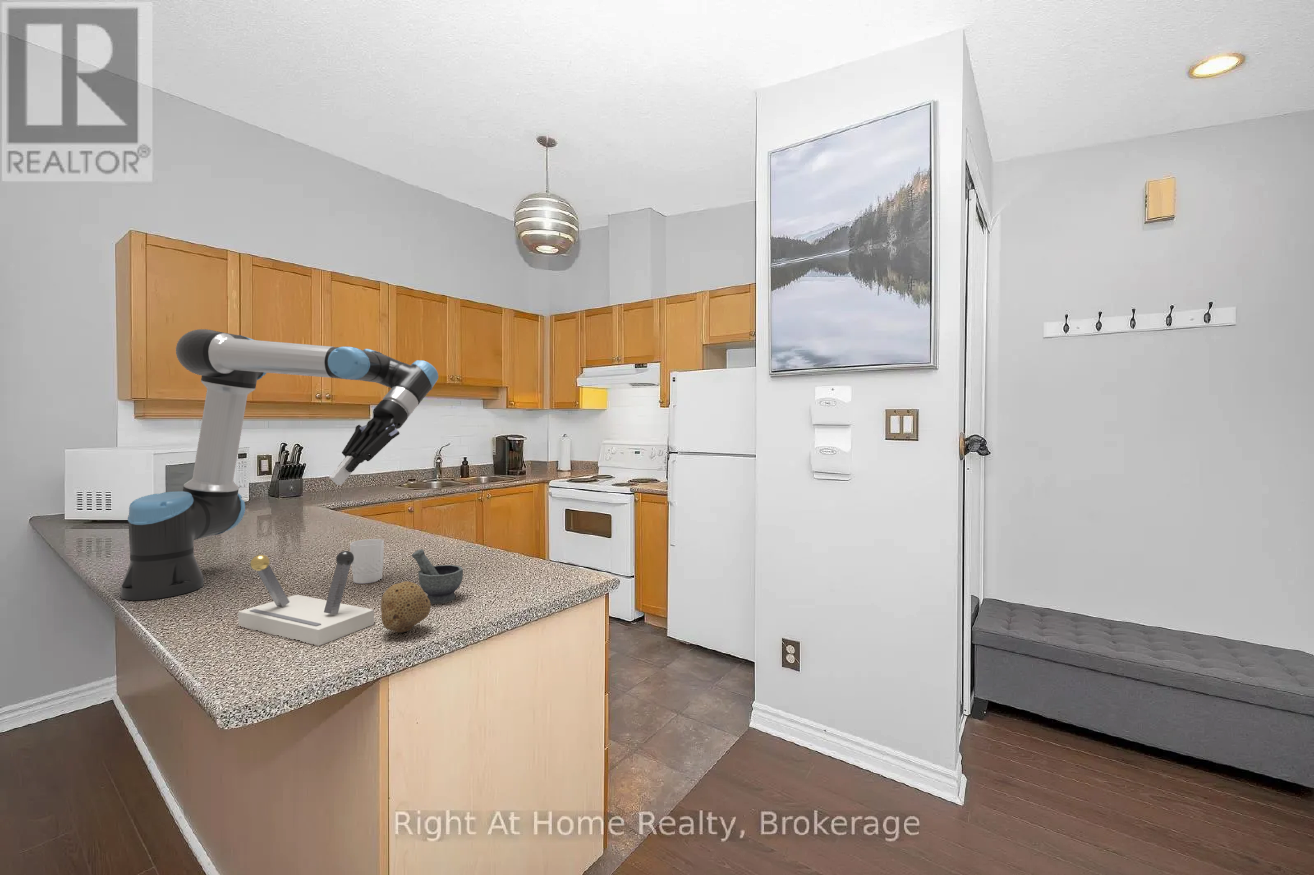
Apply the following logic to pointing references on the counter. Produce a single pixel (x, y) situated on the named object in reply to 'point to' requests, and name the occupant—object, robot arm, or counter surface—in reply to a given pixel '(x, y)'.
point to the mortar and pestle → (438, 579)
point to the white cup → (367, 560)
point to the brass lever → (269, 579)
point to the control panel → (306, 620)
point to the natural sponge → (404, 606)
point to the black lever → (338, 581)
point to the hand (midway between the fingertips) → (335, 481)
